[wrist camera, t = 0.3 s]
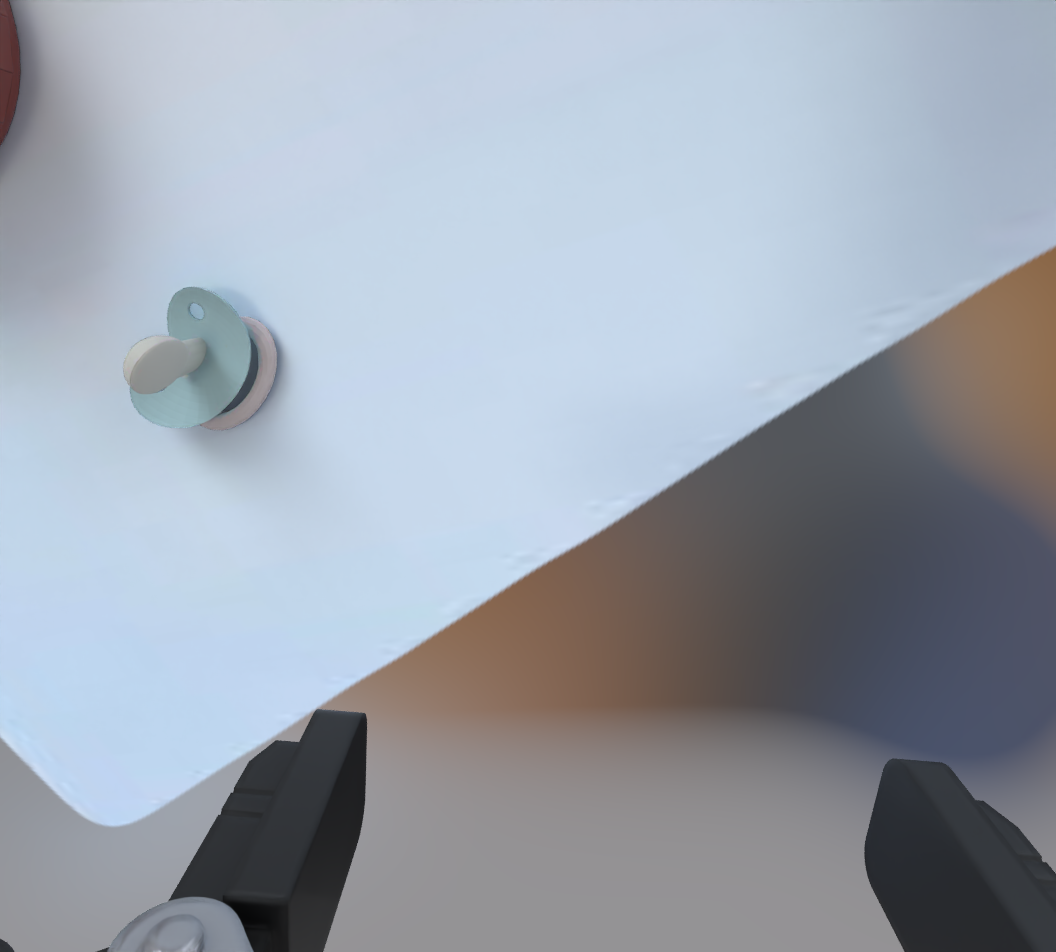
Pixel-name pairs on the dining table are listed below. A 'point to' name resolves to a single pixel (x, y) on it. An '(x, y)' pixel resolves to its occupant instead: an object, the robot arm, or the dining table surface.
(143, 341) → the pacifier
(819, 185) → the dining table surface
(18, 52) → the pot
